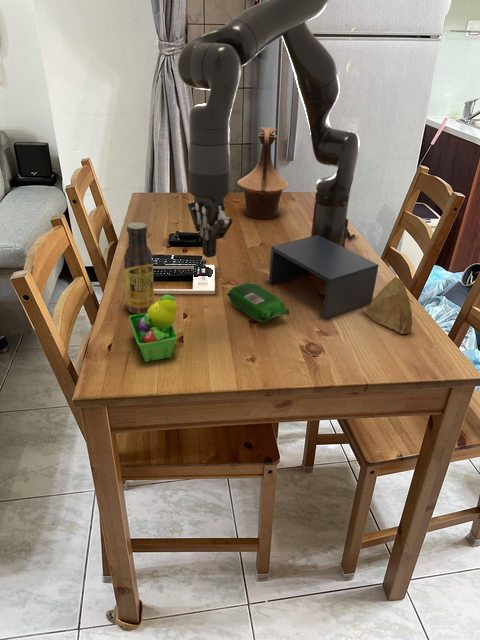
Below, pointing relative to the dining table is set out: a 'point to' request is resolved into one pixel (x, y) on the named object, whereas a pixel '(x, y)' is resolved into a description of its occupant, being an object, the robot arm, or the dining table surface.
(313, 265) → the open shelf stand
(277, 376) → the dining table surface
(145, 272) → the sauce bottle
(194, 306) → the dining table surface
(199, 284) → the photo frame
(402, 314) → the rock
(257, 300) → the snack package
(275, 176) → the brown cone topped pot
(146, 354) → the fruit basket
